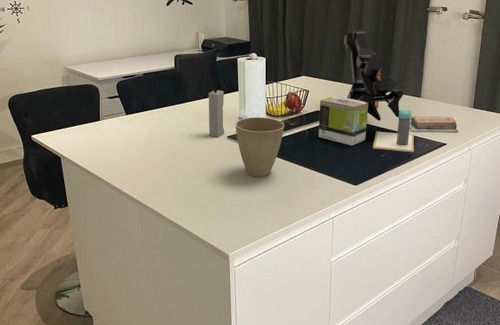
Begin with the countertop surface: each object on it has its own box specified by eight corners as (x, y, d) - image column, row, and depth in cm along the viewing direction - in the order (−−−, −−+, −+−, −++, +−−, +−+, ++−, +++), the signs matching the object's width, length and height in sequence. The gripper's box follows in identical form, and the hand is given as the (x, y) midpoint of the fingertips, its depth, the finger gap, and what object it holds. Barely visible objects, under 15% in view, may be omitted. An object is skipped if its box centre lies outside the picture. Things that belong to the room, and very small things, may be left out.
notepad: (372, 148, 189) (372, 146, 188) (376, 132, 206) (376, 130, 205) (413, 152, 185) (413, 150, 185) (413, 135, 202) (413, 134, 202)
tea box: (366, 140, 197) (369, 101, 192) (351, 146, 190) (354, 106, 185) (332, 131, 207) (335, 94, 201) (317, 137, 200) (319, 99, 194)
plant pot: (246, 184, 158) (246, 134, 152) (228, 167, 170) (228, 120, 165) (290, 177, 163) (292, 128, 158) (270, 161, 176) (271, 115, 170)
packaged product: (451, 114, 214) (459, 122, 205) (449, 126, 216) (457, 133, 206) (406, 114, 214) (412, 121, 205) (405, 125, 216) (411, 133, 207)
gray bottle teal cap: (396, 144, 190) (398, 112, 186) (396, 141, 194) (399, 109, 190) (408, 145, 189) (411, 113, 185) (408, 142, 193) (411, 110, 188)
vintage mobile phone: (224, 133, 202) (223, 69, 193) (218, 137, 198) (217, 71, 189) (215, 132, 204) (214, 68, 195) (209, 136, 200) (208, 70, 190)
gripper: (364, 73, 189) (382, 110, 184) (402, 68, 198) (421, 104, 193) (348, 90, 199) (365, 126, 194) (386, 84, 207) (403, 119, 202)
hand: (389, 118), depth 195 cm, fingers open, 9 cm apart
